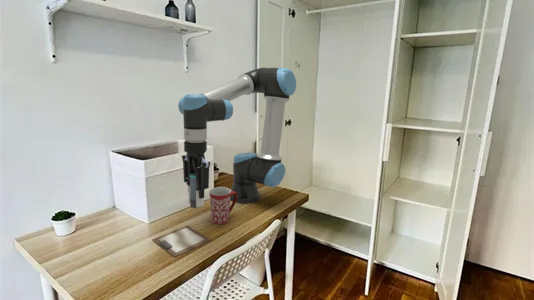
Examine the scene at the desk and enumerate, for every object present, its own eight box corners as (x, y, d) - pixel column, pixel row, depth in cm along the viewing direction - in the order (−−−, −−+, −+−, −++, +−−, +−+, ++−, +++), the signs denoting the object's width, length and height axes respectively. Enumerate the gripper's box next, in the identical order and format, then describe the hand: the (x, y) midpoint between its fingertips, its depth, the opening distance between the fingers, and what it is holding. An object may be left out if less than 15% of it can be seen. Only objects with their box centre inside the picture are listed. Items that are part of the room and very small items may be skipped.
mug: (215, 227, 118) (215, 196, 115) (205, 218, 125) (205, 189, 122) (242, 219, 126) (242, 190, 123) (231, 212, 133) (231, 184, 130)
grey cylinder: (197, 202, 108) (197, 171, 105) (204, 205, 105) (204, 174, 103) (187, 205, 105) (187, 173, 102) (194, 209, 102) (194, 176, 100)
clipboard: (187, 226, 118) (187, 223, 118) (210, 240, 109) (210, 237, 109) (152, 240, 107) (152, 236, 107) (174, 257, 98) (174, 253, 98)
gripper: (172, 137, 102) (173, 199, 108) (201, 146, 91) (201, 215, 97) (190, 135, 108) (191, 194, 113) (220, 143, 97) (219, 208, 102)
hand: (196, 204), depth 105 cm, fingers closed on grey cylinder, 4 cm apart
